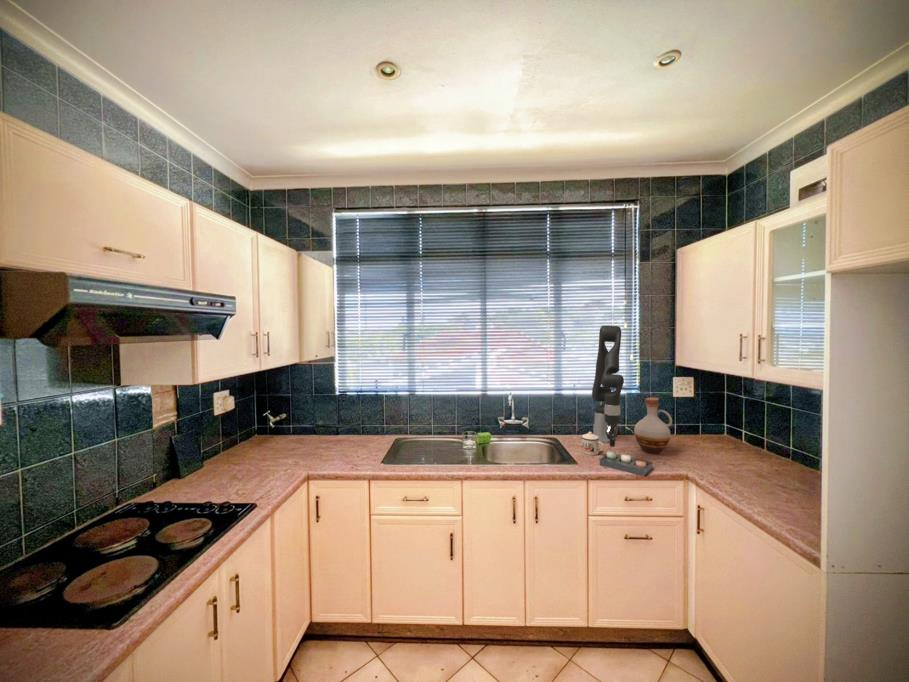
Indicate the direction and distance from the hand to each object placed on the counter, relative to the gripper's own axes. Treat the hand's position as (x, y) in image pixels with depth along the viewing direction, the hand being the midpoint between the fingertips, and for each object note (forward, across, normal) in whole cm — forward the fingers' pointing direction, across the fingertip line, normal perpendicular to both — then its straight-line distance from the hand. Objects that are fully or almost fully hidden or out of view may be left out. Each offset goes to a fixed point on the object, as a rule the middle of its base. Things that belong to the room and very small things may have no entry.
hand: (612, 446), depth 184 cm
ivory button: (+7, 0, +7) cm, 9 cm away
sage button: (+7, 0, 0) cm, 7 cm away
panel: (+9, 0, +7) cm, 11 cm away
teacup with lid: (+9, -8, -13) cm, 18 cm away
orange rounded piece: (+8, 0, +14) cm, 16 cm away
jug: (+9, -33, +11) cm, 36 cm away
